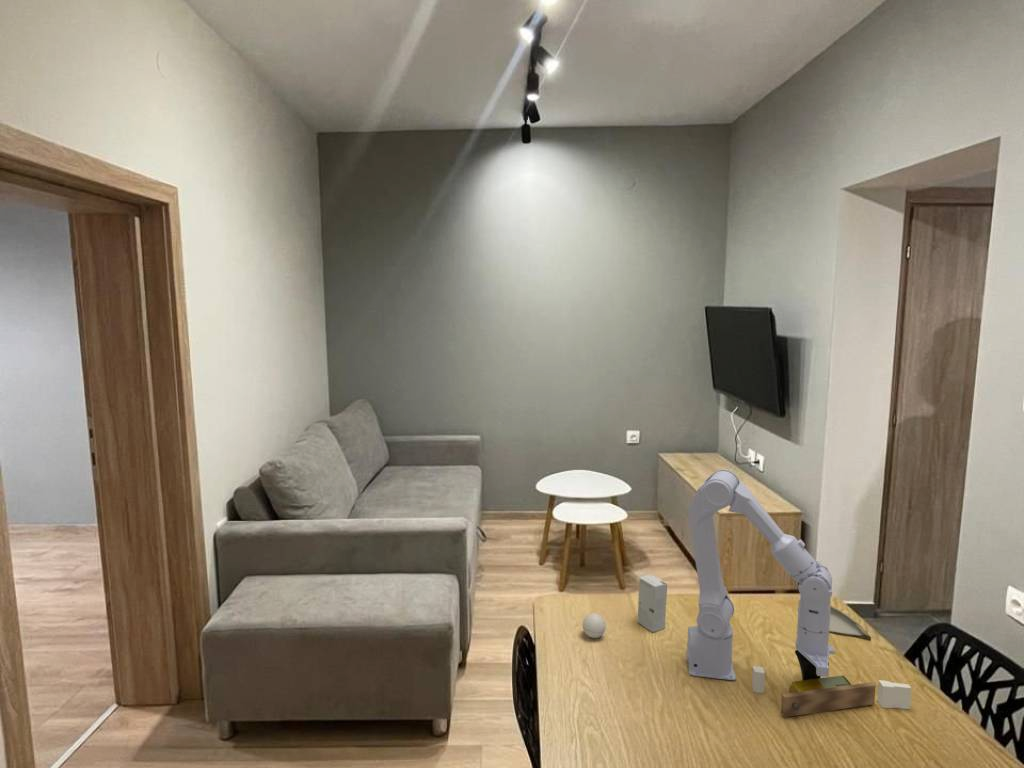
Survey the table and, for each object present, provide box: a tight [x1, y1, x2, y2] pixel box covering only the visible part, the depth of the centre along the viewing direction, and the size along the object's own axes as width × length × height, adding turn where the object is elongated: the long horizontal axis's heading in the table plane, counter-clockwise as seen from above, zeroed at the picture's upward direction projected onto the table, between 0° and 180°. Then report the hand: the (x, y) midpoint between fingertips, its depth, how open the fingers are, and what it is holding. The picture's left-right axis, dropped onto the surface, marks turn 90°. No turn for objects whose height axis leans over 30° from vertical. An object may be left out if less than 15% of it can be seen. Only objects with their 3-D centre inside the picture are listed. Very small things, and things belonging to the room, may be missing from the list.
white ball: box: [575, 612, 607, 639], centre depth 141 cm, size 8×6×6 cm
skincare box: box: [637, 573, 668, 633], centre depth 146 cm, size 6×4×12 cm
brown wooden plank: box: [780, 682, 877, 718], centre depth 113 cm, size 20×2×4 cm, turn 100°
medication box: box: [788, 675, 852, 693], centre depth 116 cm, size 12×3×4 cm, turn 101°
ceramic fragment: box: [829, 604, 872, 641], centre depth 145 cm, size 18×7×5 cm, turn 25°
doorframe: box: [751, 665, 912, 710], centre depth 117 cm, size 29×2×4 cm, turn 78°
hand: (809, 688), depth 118 cm, fingers closed, pressing on medication box
